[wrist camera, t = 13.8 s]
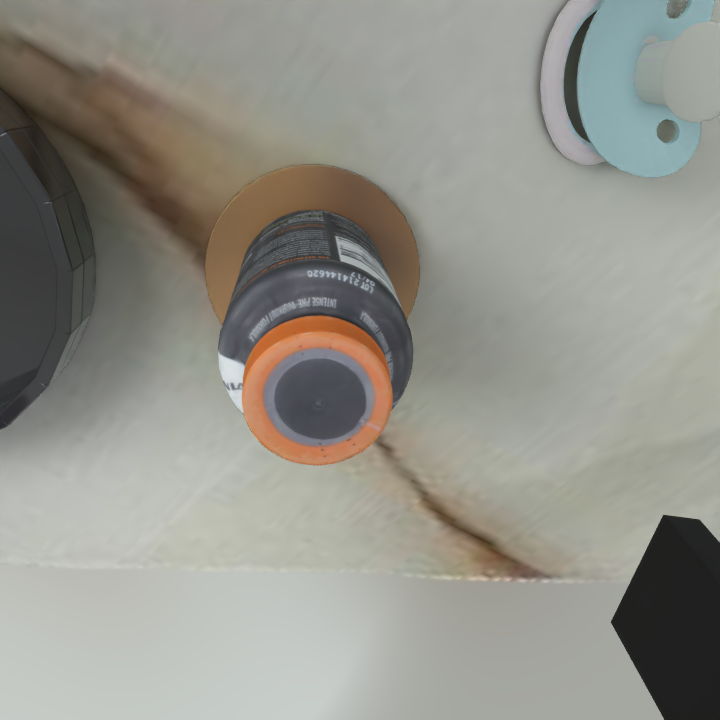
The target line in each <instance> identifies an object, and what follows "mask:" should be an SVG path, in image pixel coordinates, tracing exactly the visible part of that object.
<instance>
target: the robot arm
mask: <svg viewBox="0 0 720 720" xmlns="http://www.w3.org/2000/svg"><path fill="white" fill-rule="evenodd" d="M611 623H612V625H613V627H614V629H615V631H616V632H617V634H618V636H619V638H620V640H621V642H622V643H623V645H624V647H625V649H626V651H627V652H628V654H629V656H630V658H631V660H632V661H633V663H634V665H635V667H636V669H637V671H638V672H639V674H640V676H641V678H642V679H643V681H644V683H645V685H646V687H647V689H648V690H649V692H650V694H651V696H652V698H653V700H654V701H655V703H656V705H657V707H658V709H659V711H660V712H661V714H662V716H663V718H664V720H720V543H719V541H718V540H717V539H716V538H715V537H714V536H713V535H712V533H711V532H710V531H709V530H708V529H707V528H706V526H705V525H704V524H703V523H702V522H701V521H700V520H699V519H691V518H683V517H676V516H668V515H663V517H662V519H661V521H660V523H659V525H658V527H657V529H656V531H655V533H654V535H653V537H652V539H651V541H650V543H649V545H648V547H647V549H646V551H645V553H644V555H643V557H642V560H641V562H640V564H639V566H638V568H637V570H636V572H635V574H634V576H633V578H632V580H631V582H630V584H629V586H628V588H627V590H626V592H625V594H624V596H623V598H622V600H621V603H620V604H619V606H618V609H617V611H616V613H615V615H614V617H613V619H612V621H611Z"/></svg>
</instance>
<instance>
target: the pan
mask: <svg viewBox="0 0 720 720" xmlns="http://www.w3.org/2000/svg"><path fill="white" fill-rule="evenodd" d="M95 282H96V274H95V252H94V246H93V239H92V233H91V228H90V225H89V222H88V218H87V215H86V211H85V208H84V205H83V202H82V200H81V197H80V195H79V193H78V191H77V188H76V186H75V184H74V181H73V179H72V177H71V175H70V173H69V172H68V170H67V168H66V167H65V165H64V163H63V161H62V160H61V158H60V156H59V155H58V153H57V151H56V150H55V148H54V147H53V146H52V144H51V143H50V142H49V140H48V139H47V138H46V136H45V135H44V134H43V132H42V131H41V130H40V128H39V127H38V126H37V125H36V123H35V122H34V121H33V120H32V119H31V118H30V117H29V116H28V115H27V114H26V113H25V111H24V110H23V109H22V108H21V107H20V106H19V105H18V104H17V103H16V102H15V101H14V100H13V99H12V98H11V97H9V96H8V95H7V94H6V93H5V92H4V91H3V90H1V89H0V430H1V429H3V428H5V427H7V426H8V425H10V424H11V423H12V422H13V421H14V420H15V419H16V418H17V417H18V416H19V415H20V414H21V413H22V412H23V411H24V410H25V409H26V408H27V407H28V406H29V405H30V404H31V403H32V402H33V401H34V400H35V399H36V398H37V397H38V396H39V395H40V394H41V393H42V392H43V391H44V390H45V389H46V388H47V387H48V386H49V385H50V384H51V383H52V382H53V380H54V379H55V378H56V377H57V376H58V374H59V373H60V372H61V371H62V370H63V368H64V367H65V366H66V365H67V364H68V362H69V361H70V359H71V357H72V355H73V352H74V350H75V348H76V347H77V345H78V343H79V341H80V339H81V337H82V334H83V332H84V330H85V328H86V326H87V322H88V319H89V316H90V312H91V308H92V305H93V298H94V290H95Z"/></svg>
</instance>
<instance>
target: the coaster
mask: <svg viewBox="0 0 720 720" xmlns="http://www.w3.org/2000/svg"><path fill="white" fill-rule="evenodd" d="M301 210H324V211H328V212H332V213H336V214H338V215H341V216H343V217H345V218H347V219H349V220H351V221H352V222H354V223H355V224H357V225H358V226H359V227H360V228H362V229H363V230H364V231H365V232H366V233H367V234H368V236H369V237H370V238H371V239H372V241H373V243H374V244H375V246H376V248H377V250H378V252H379V254H380V256H381V258H382V261H383V263H384V266H385V268H386V270H387V273H388V276H389V278H390V280H391V283H392V285H393V287H394V290H395V292H396V295H397V297H398V299H399V301H400V304H401V307H402V310H403V312H404V315H405V317H406V320H407V318H408V316H409V314H410V312H411V310H412V308H413V305H414V302H415V299H416V296H417V291H418V285H419V274H420V266H419V255H418V250H417V246H416V241H415V239H414V236H413V233H412V231H411V228H410V226H409V224H408V223H407V221H406V219H405V217H404V215H403V214H402V212H401V211H400V210H399V208H398V207H397V206H396V204H395V203H394V202H393V201H392V200H391V199H390V198H389V196H388V195H387V194H386V193H385V192H383V191H382V190H381V189H380V188H378V187H377V186H376V185H375V184H373V183H372V182H370V181H368V180H367V179H365V178H363V177H362V176H360V175H357V174H355V173H353V172H350V171H348V170H345V169H341V168H338V167H334V166H327V165H320V164H303V165H295V166H289V167H285V168H282V169H278V170H275V171H272V172H270V173H268V174H265V175H263V176H261V177H259V178H258V179H256V180H254V181H253V182H251V183H250V184H248V185H247V186H246V187H245V188H243V189H242V190H241V191H240V192H238V193H237V195H236V196H235V197H234V198H233V199H232V200H231V201H230V202H229V203H228V205H227V206H226V208H225V209H224V210H223V212H222V213H221V215H220V216H219V218H218V220H217V222H216V224H215V226H214V228H213V230H212V233H211V236H210V239H209V242H208V246H207V252H206V258H205V278H206V286H207V290H208V295H209V299H210V301H211V304H212V307H213V309H214V311H215V313H216V315H217V317H218V319H219V321H220V323H221V324H222V325H223V322H224V320H225V316H226V313H227V309H228V307H229V304H230V301H231V297H232V293H233V291H234V288H235V285H236V282H237V279H238V275H239V272H240V269H241V265H242V263H243V259H244V256H245V253H246V251H247V249H248V247H249V246H250V244H251V243H252V241H253V240H254V239H255V238H256V236H257V235H258V234H259V233H260V232H261V231H262V230H263V228H264V227H265V226H267V225H268V224H269V223H271V222H272V221H274V220H276V219H277V218H279V217H282V216H284V215H287V214H289V213H293V212H296V211H301Z"/></svg>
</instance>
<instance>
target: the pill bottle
mask: <svg viewBox="0 0 720 720" xmlns="http://www.w3.org/2000/svg"><path fill="white" fill-rule="evenodd" d="M218 357H219V368H220V372H221V376H222V379H223V383H224V385H225V388H226V390H227V392H228V394H229V396H230V398H231V399H232V401H233V402H234V404H235V405H236V406H237V408H238V409H239V410H240V411H241V412H242V413H243V414H244V416H245V419H246V422H247V424H248V426H249V428H250V430H251V431H252V433H253V434H254V435H255V437H256V438H257V439H258V440H259V442H260V443H261V444H262V445H263V446H264V447H266V448H267V449H268V450H270V451H271V452H273V453H274V454H276V455H278V456H280V457H282V458H284V459H286V460H289V461H292V462H296V463H301V464H308V465H326V464H333V463H337V462H341V461H343V460H346V459H349V458H351V457H353V456H355V455H357V454H358V453H360V452H362V451H364V450H365V449H366V448H367V447H369V446H370V445H371V444H372V443H373V442H374V441H375V440H376V439H377V438H378V437H379V435H380V434H381V432H382V431H383V429H384V427H385V425H386V423H387V421H388V418H389V415H390V412H391V410H392V409H393V408H394V407H395V406H396V404H397V403H398V401H399V399H400V398H401V396H402V395H403V393H404V390H405V388H406V386H407V384H408V381H409V378H410V374H411V369H412V362H413V345H412V337H411V332H410V328H409V326H408V323H407V320H406V317H405V315H404V312H403V310H402V307H401V304H400V301H399V299H398V297H397V295H396V292H395V290H394V287H393V285H392V283H391V280H390V278H389V276H388V273H387V270H386V268H385V266H384V263H383V261H382V258H381V256H380V254H379V252H378V250H377V248H376V246H375V244H374V243H373V241H372V239H371V238H370V237H369V236H368V234H367V233H366V232H365V231H364V230H363V229H362V228H360V227H359V226H358V225H357V224H355V223H354V222H352V221H351V220H349V219H347V218H345V217H343V216H341V215H338V214H336V213H332V212H328V211H324V210H301V211H296V212H293V213H289V214H287V215H284V216H282V217H279V218H277V219H276V220H274V221H272V222H271V223H269V224H268V225H267V226H265V227H264V228H263V230H262V231H261V232H260V233H259V234H258V235H257V236H256V238H255V239H254V240H253V241H252V243H251V244H250V246H249V247H248V249H247V251H246V253H245V256H244V259H243V263H242V265H241V269H240V272H239V275H238V279H237V282H236V285H235V288H234V291H233V293H232V297H231V301H230V304H229V307H228V309H227V313H226V316H225V320H224V322H223V325H222V328H221V331H220V337H219V345H218Z"/></svg>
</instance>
